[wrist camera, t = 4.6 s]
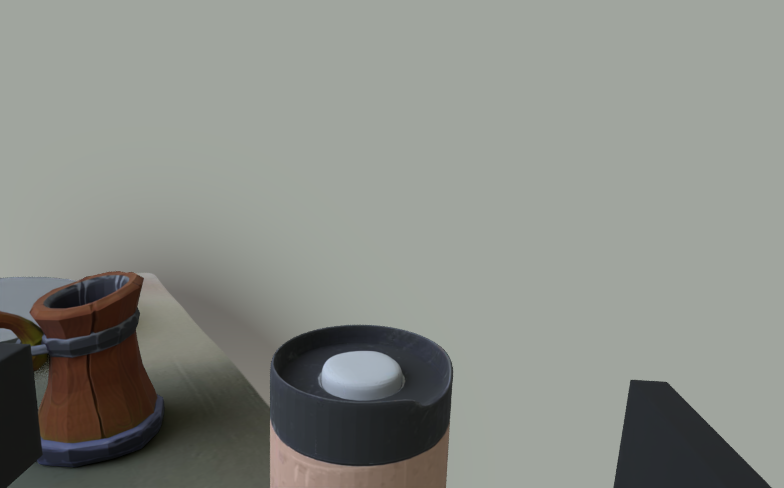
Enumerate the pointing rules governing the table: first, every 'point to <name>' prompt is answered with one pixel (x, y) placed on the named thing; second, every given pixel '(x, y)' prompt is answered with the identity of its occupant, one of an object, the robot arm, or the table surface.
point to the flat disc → (24, 298)
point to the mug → (90, 370)
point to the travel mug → (359, 410)
